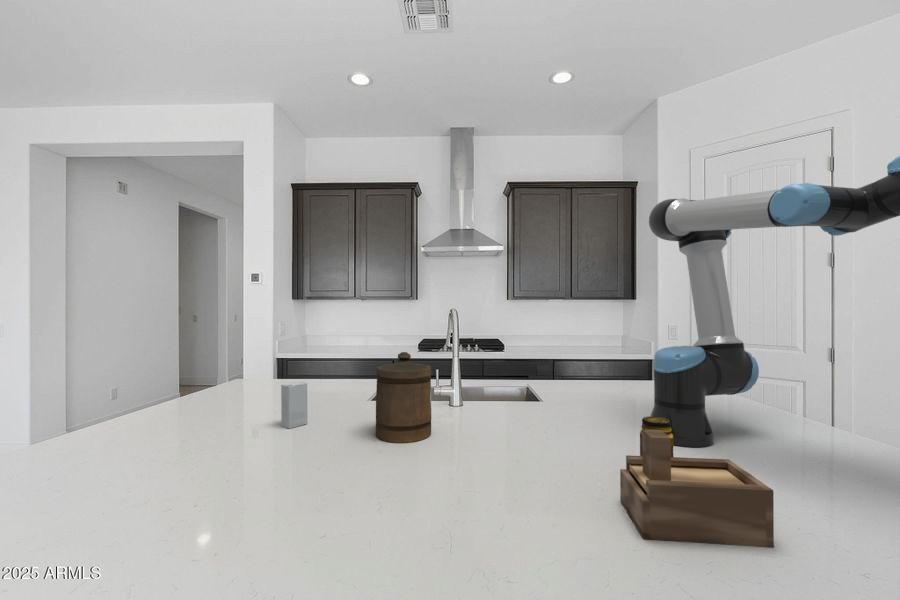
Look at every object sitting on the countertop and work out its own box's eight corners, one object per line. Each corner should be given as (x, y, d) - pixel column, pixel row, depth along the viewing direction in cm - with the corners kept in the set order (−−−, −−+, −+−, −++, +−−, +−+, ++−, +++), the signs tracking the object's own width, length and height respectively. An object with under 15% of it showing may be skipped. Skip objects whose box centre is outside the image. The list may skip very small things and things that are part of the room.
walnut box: (620, 501, 75) (620, 455, 75) (728, 506, 73) (728, 459, 73) (643, 539, 63) (642, 484, 63) (773, 547, 61) (773, 490, 61)
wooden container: (441, 431, 116) (441, 351, 116) (408, 447, 103) (408, 357, 103) (399, 423, 123) (399, 348, 124) (363, 436, 111) (363, 353, 111)
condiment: (679, 488, 80) (678, 425, 80) (630, 483, 83) (630, 421, 83) (671, 473, 87) (671, 415, 87) (626, 468, 89) (626, 412, 90)
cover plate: (629, 469, 74) (629, 424, 74) (723, 473, 72) (723, 427, 72) (649, 496, 64) (649, 443, 64) (759, 502, 62) (759, 447, 62)
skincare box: (299, 421, 125) (299, 380, 125) (308, 424, 122) (308, 382, 122) (280, 426, 120) (280, 384, 120) (288, 429, 117) (288, 386, 117)
